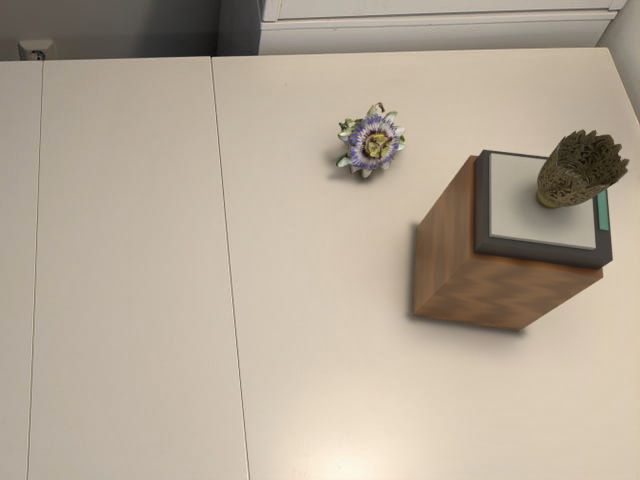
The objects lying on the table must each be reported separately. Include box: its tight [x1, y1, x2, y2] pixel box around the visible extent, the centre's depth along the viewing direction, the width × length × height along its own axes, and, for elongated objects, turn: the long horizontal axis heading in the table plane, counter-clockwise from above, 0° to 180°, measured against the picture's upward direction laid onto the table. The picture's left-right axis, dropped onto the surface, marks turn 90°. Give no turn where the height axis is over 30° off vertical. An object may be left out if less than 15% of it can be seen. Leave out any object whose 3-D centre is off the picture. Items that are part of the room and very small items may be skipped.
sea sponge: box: [536, 129, 631, 209], centre depth 65 cm, size 8×7×8 cm
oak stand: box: [412, 154, 604, 332], centre depth 80 cm, size 16×16×18 cm
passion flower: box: [334, 101, 407, 179], centre depth 93 cm, size 11×11×12 cm
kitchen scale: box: [474, 148, 614, 270], centre depth 70 cm, size 15×14×3 cm
